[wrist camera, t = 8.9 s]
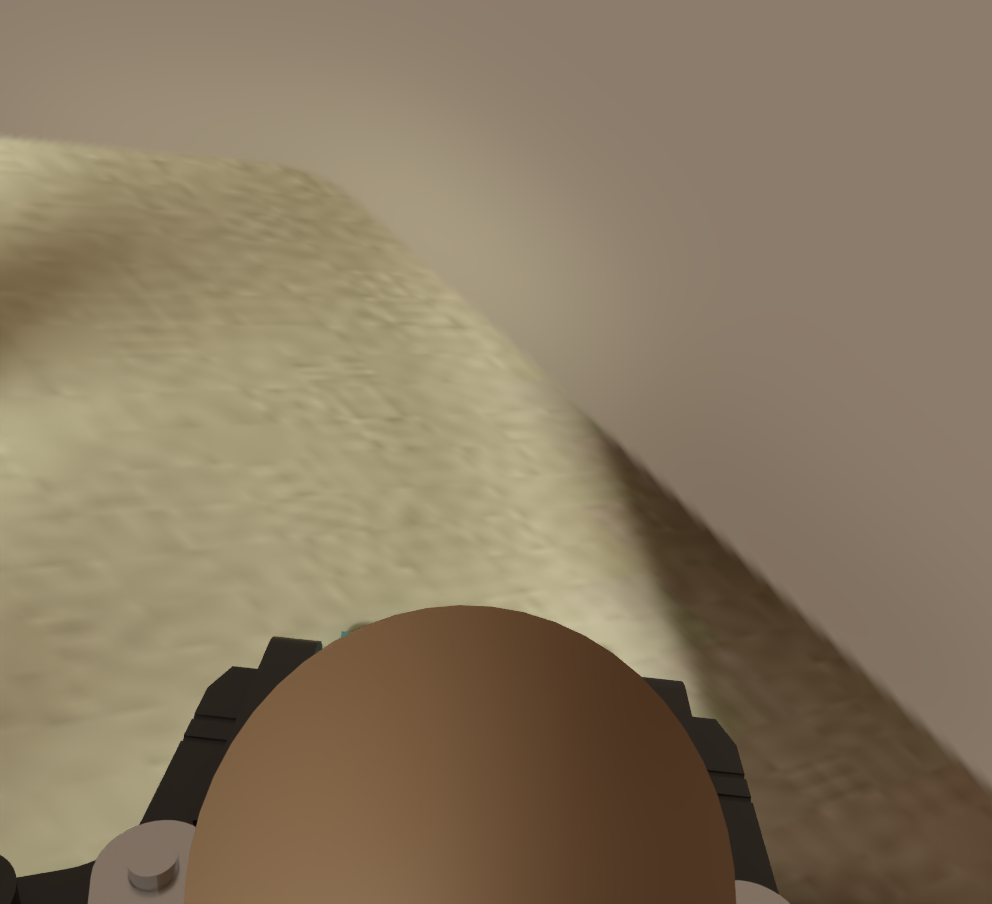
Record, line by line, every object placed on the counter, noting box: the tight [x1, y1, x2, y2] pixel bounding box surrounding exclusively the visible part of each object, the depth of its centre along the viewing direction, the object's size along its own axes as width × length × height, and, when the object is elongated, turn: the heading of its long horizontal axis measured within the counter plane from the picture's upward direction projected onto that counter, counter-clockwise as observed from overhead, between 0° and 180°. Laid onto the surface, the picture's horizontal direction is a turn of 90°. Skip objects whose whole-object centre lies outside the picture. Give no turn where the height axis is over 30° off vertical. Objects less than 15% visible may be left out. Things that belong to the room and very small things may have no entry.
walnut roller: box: [184, 605, 736, 904], centre depth 13 cm, size 5×5×10 cm
